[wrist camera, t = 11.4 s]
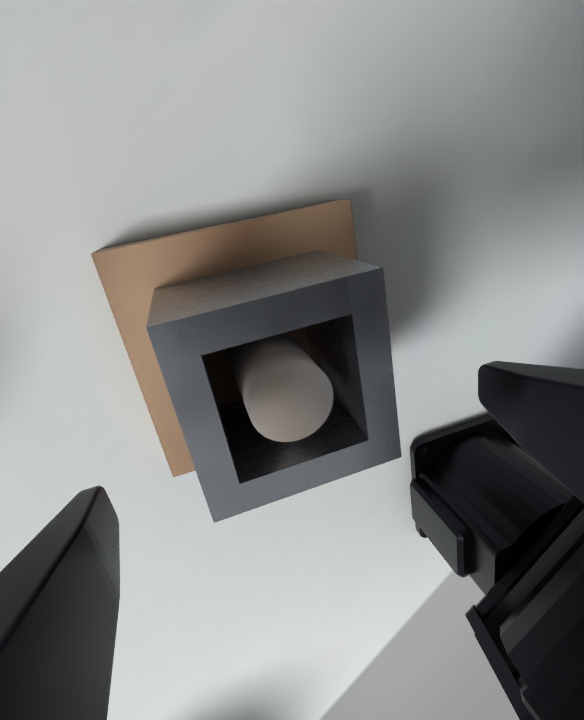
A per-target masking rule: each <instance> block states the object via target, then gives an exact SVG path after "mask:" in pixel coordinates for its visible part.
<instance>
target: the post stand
mask: <svg viewBox="0 0 584 720" xmlns="http://www.w3.org/2000/svg"><path fill="white" fill-rule="evenodd" d="M315 250H322V251H326V252H329V253H333V254H336V255H340V256H344V257H347V258H351V259H355V260H357V251H356V243H355V234H354V225H353V217H352V208H351V200H335V201H330V202H325V203H320V204H315V205H311V206H306V207H301V208H296V209H291V210H287V211H282V212H277V213H272V214H267V215H263V216H258V217H253V218H248V219H243V220H239V221H234V222H229V223H224V224H219V225H215V226H210V227H205V228H200V229H195V230H191V231H186V232H181V233H176V234H171V235H167V236H162V237H157V238H152V239H147V240H143V241H138V242H133V243H128V244H123V245H119V246H114V247H109V248H104V249H99V250H97V251H95V252H94V253H92V254H91V256H92V258H93V261H94V264H95V266H96V269H97V272H98V275H99V277H100V280H101V283H102V285H103V288H104V291H105V293H106V296H107V299H108V302H109V304H110V307H111V310H112V312H113V315H114V318H115V321H116V323H117V326H118V329H119V331H120V334H121V337H122V340H123V342H124V345H125V348H126V350H127V353H128V356H129V359H130V361H131V364H132V367H133V369H134V372H135V375H136V377H137V380H138V383H139V386H140V388H141V391H142V394H143V396H144V399H145V402H146V405H147V407H148V410H149V413H150V415H151V418H152V421H153V424H154V426H155V429H156V432H157V434H158V437H159V440H160V443H161V445H162V448H163V451H164V453H165V456H166V459H167V462H168V464H169V467H170V470H171V472H172V475H173V477H176V476H179V475H182V474H185V473H188V472H191V471H194V470H195V467H194V464H193V461H192V458H191V455H190V452H189V450H188V447H187V444H186V441H185V438H184V435H183V432H182V429H181V427H180V424H179V421H178V418H177V415H176V412H175V409H174V406H173V404H172V401H171V398H170V395H169V392H168V389H167V386H166V384H165V381H164V378H163V375H162V372H161V369H160V366H159V363H158V361H157V358H156V355H155V352H154V349H153V346H152V343H151V340H150V338H149V335H148V332H147V329H146V325H147V321H148V316H149V311H150V306H151V301H152V296H153V291H154V289H155V288H160V287H164V286H168V285H172V284H176V283H181V282H185V281H189V280H193V279H197V278H201V277H206V276H210V275H214V274H218V273H222V272H227V271H231V270H235V269H239V268H243V267H248V266H252V265H256V264H260V263H264V262H269V261H273V260H277V259H281V258H285V257H290V256H294V255H298V254H302V253H306V252H310V251H315ZM205 357H206V360H207V364H208V367H209V371H210V374H211V377H212V381H213V384H214V388H215V391H216V394H217V398H218V401H219V404H220V406H222V405H226V404H229V403H232V402H236V401H239V400H242V399H243V401H244V404H245V407H246V409H247V412H248V415H249V417H250V420H251V422H252V424H253V426H254V427H255V428H256V430H257V431H258V432H259V433H260V434H262V435H263V436H265V437H266V438H268V439H271V440H274V441H278V442H292V441H297V440H300V439H303V438H305V437H307V436H309V435H311V434H312V433H314V432H315V431H316V430H318V429H319V428H320V427H321V426H322V425H323V423H324V422H325V421H326V419H327V417H328V416H329V414H330V411H331V408H332V405H333V389H332V385H331V382H330V380H329V379H328V377H327V376H326V374H325V373H324V372H323V371H322V370H321V369H320V368H319V367H318V366H317V365H316V364H315V363H314V361H313V360H312V358H311V352H310V347H309V341H308V336H307V330H306V327H303V328H299V329H296V330H292V331H288V332H285V333H281V334H277V335H274V336H270V337H266V338H263V339H259V340H255V341H252V342H248V343H245V344H241V345H237V346H234V347H230V348H226V349H223V350H219V351H215V352H212V353H208V354H205Z"/></svg>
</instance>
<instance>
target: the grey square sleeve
mask: <svg viewBox="0 0 584 720" xmlns="http://www.w3.org/2000/svg"><path fill="white" fill-rule="evenodd" d="M303 327H306V330H307V336H308V341H309V347H310V352H311V358H312V360H313V361H314V363H315V364H316V365H317V366H318V367H319V368H320V369H321V370H322V371H323V372H324V373H325V374H326V376H327V377H328V379H329V380H330V382H331V385H332V389H333V405H332V408H331V411H330V414H329V416H328V417H327V419H326V421H325V422H324V423H323V425H322V426H321V427H320V428H319V429H318V430H316V431H315V432H314V433H312V434H311V435H309V436H307V437H305V438H303V439H300V440H297V441H292V442H278V441H274V440H271V439H268V438H266V437H265V436H263V435H262V434H260V433H259V432H258V431H257V430H256V428H255V427H254V426H253V424H252V422H251V420H250V417H249V415H248V412H247V409H246V407H245V404H244V401H243V399H242V400H239V401H236V402H232V403H229V404H226V405H222V406H220V404H219V401H218V398H217V394H216V391H215V388H214V384H213V381H212V377H211V374H210V371H209V367H208V364H207V360H206V357H205V354H208V353H212V352H215V351H219V350H223V349H226V348H230V347H234V346H237V345H241V344H245V343H248V342H252V341H255V340H259V339H263V338H266V337H270V336H274V335H277V334H281V333H285V332H288V331H292V330H296V329H299V328H303ZM146 329H147V332H148V335H149V338H150V340H151V343H152V346H153V349H154V352H155V355H156V358H157V361H158V363H159V366H160V369H161V372H162V375H163V378H164V381H165V384H166V386H167V389H168V392H169V395H170V398H171V401H172V404H173V406H174V409H175V412H176V415H177V418H178V421H179V424H180V427H181V429H182V432H183V435H184V438H185V441H186V444H187V447H188V450H189V452H190V455H191V458H192V461H193V464H194V467H195V470H196V472H197V475H198V478H199V481H200V484H201V487H202V490H203V493H204V495H205V498H206V501H207V504H208V507H209V510H210V513H211V515H212V518H213V521H214V523H215V522H218V521H220V520H223V519H226V518H229V517H232V516H235V515H237V514H240V513H243V512H246V511H249V510H252V509H254V508H257V507H260V506H263V505H266V504H269V503H271V502H274V501H277V500H280V499H283V498H286V497H289V496H291V495H294V494H297V493H300V492H303V491H306V490H308V489H311V488H314V487H317V486H320V485H323V484H325V483H328V482H331V481H334V480H337V479H340V478H342V477H345V476H348V475H351V474H354V473H357V472H360V471H362V470H365V469H368V468H371V467H374V466H377V465H379V464H382V463H385V462H388V461H391V460H394V459H396V458H399V457H401V448H400V438H399V427H398V417H397V407H396V396H395V386H394V376H393V366H392V355H391V345H390V335H389V325H388V314H387V304H386V294H385V284H384V273H383V267H380V266H376V265H373V264H369V263H366V262H362V261H358V260H355V259H351V258H347V257H344V256H340V255H336V254H333V253H329V252H326V251H322V250H315V251H310V252H306V253H302V254H298V255H294V256H290V257H285V258H281V259H277V260H273V261H269V262H264V263H260V264H256V265H252V266H248V267H243V268H239V269H235V270H231V271H227V272H222V273H218V274H214V275H210V276H206V277H201V278H197V279H193V280H189V281H185V282H181V283H176V284H172V285H168V286H164V287H160V288H155V289H154V291H153V296H152V301H151V306H150V311H149V316H148V321H147V325H146Z"/></svg>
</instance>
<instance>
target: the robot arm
mask: <svg viewBox="0 0 584 720" xmlns="http://www.w3.org/2000/svg"><path fill="white" fill-rule="evenodd" d="M478 396H479V400H480V402H481V404H482V405H483V406H484V407H485V408H486V410H487V411H488V412H489V413H490V414H491V415H489V416H486V417H483V418H480V419H477V420H474V421H471V422H468V423H465V424H462V425H459V426H456V427H453V428H450V429H448V430H445V431H442V432H439V433H436V434H433V435H430V436H427V437H424V438H421V439H418V440H416V441H414V442H413V443H412V445H411V447H410V458H411V471H412V480H411V483H410V491H411V504H412V516H413V519H414V521H415V522H416V530H417V532H418V533H419V534H420V536H421V537H424V538H426V537H428V538H429V540H430V541H431V542H432V544H433V545H434V546H435V547H436V549H437V550H438V551H439V553H440V554H441V555H442V556H443V558H444V559H445V560H446V561H447V563H448V564H449V565H450V567H451V568H452V569H453V570H454V572H455V573H456V574H457V575H459V576H461V577H466V576H468V575H469V576H470V577H471V578H472V579H473V581H474V582H475V583H476V584H477V585H478V587H479V588H480V589H481V590H482V592H483V593H484V594H485V596H484V597H483V598H482V599H481V601H480V602H479V603H478V604H477V605H476V606H475V605H473V606H472V607H471V608H470V609H469V610H468V611H467V613H466V614H465V615H466V617H467V619H468V621H469V623H470V625H471V627H472V628H473V630H474V632H475V637H476V639H477V640H478V642H479V644H480V646H481V648H482V650H483V652H484V653H485V655H486V657H487V659H488V661H489V663H490V665H491V667H492V669H493V670H494V672H495V674H496V676H497V678H498V680H499V681H500V683H501V685H502V687H503V689H504V691H505V693H506V694H507V696H508V698H509V700H510V702H511V704H512V706H513V708H514V710H515V712H516V713H517V715H518V717H519V719H520V720H584V369H575V368H565V367H554V366H544V365H533V364H523V363H513V362H502V361H494V362H490V363H487V364H484V365H482V366H481V367H480V368H479V371H478ZM422 447H423V448H422ZM421 448H422V449H421ZM420 449H421V450H420ZM419 450H420V451H419ZM119 598H120V557H119V522H118V518H117V515H116V512H115V510H114V508H113V506H112V504H111V502H110V499H109V497H108V495H107V493H106V491H105V489H104V488H103V487H102V486H96V487H93V488H89V489H86V490H83V491H81V492H79V493H78V494H77V495H76V496H75V497H74V498H73V499H72V500H71V501H70V502H69V503H68V504H67V505H66V506H65V507H64V508H63V509H62V510H61V511H60V512H59V513H58V514H57V515H56V516H55V517H54V518H53V519H52V520H51V521H50V522H49V523H48V524H47V525H46V526H45V527H44V528H43V529H42V530H41V532H40V533H39V534H38V535H37V536H36V537H35V538H34V539H33V540H32V541H31V542H30V543H29V544H28V545H27V546H26V547H25V548H24V549H23V550H22V551H21V552H20V553H19V554H18V555H17V556H16V557H15V558H14V559H13V560H12V561H11V562H10V563H9V564H8V565H7V566H6V567H5V568H4V569H3V570H2V571H1V572H0V720H107V713H108V704H109V694H110V685H111V676H112V666H113V657H114V648H115V638H116V629H117V620H118V610H119Z"/></svg>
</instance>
